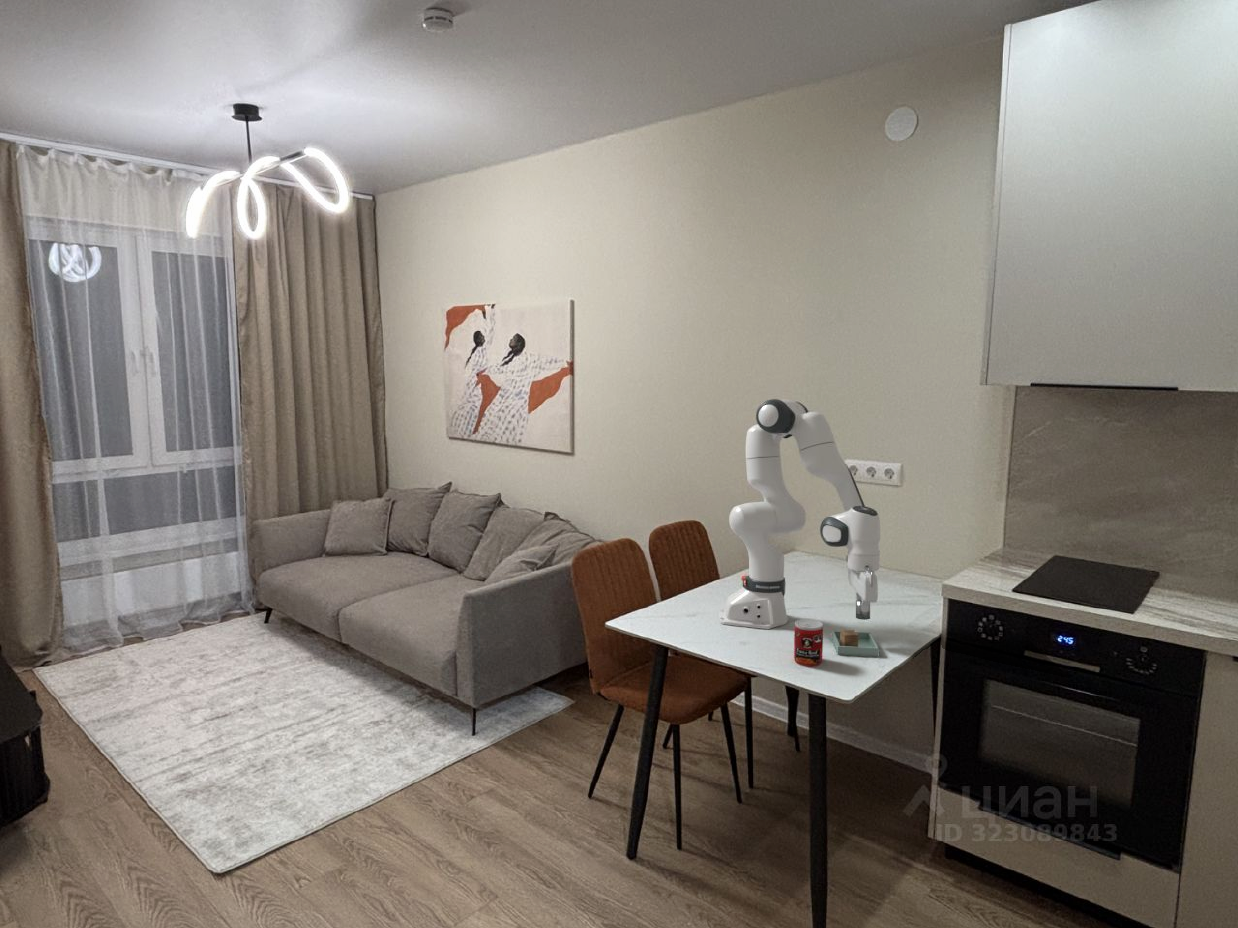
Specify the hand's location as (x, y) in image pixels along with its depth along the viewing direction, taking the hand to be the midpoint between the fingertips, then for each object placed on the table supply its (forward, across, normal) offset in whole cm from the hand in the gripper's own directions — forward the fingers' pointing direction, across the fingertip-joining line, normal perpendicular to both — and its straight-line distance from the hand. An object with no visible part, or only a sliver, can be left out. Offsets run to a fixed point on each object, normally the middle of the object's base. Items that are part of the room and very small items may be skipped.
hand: (862, 608), depth 221 cm
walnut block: (+11, -5, +5) cm, 13 cm away
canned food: (+12, -14, +18) cm, 25 cm away
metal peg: (+3, 0, 0) cm, 3 cm away
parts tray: (+11, -2, +2) cm, 12 cm away
